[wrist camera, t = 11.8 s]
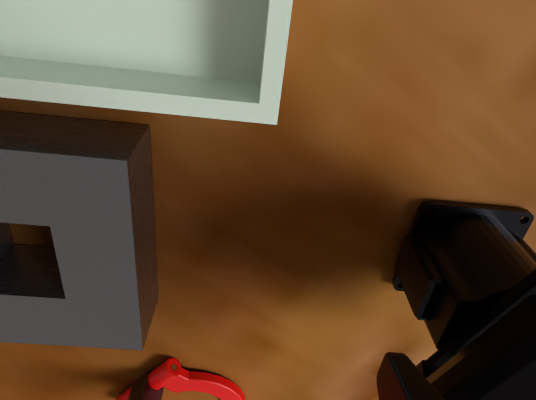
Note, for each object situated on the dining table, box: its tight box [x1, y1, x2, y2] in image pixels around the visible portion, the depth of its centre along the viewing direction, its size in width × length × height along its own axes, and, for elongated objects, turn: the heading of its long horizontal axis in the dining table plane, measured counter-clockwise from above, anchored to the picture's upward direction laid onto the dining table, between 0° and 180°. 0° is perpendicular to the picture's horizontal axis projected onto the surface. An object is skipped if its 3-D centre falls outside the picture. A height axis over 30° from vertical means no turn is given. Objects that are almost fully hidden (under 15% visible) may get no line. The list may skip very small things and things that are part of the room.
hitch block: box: [0, 111, 158, 350], centre depth 21 cm, size 12×12×4 cm
